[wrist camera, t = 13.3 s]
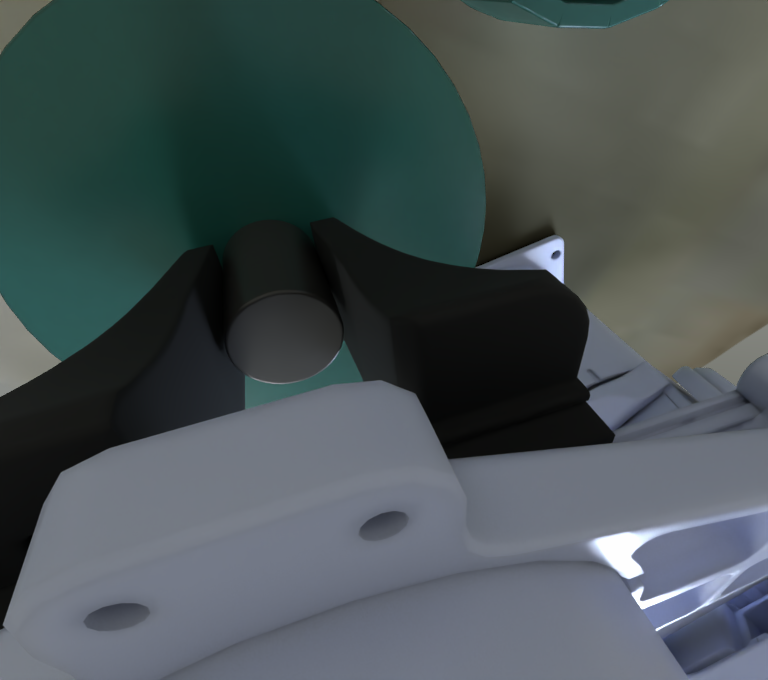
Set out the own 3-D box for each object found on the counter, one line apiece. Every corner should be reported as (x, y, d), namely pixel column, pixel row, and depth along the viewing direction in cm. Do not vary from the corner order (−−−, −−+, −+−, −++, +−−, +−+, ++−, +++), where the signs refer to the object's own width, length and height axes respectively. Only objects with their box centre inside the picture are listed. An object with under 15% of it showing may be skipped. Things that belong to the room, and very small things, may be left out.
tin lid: (490, 318, 16) (560, 403, 13) (187, 446, 16) (179, 568, 13) (423, -147, 8) (561, -234, 5) (-195, 88, 8) (-498, 163, 5)
